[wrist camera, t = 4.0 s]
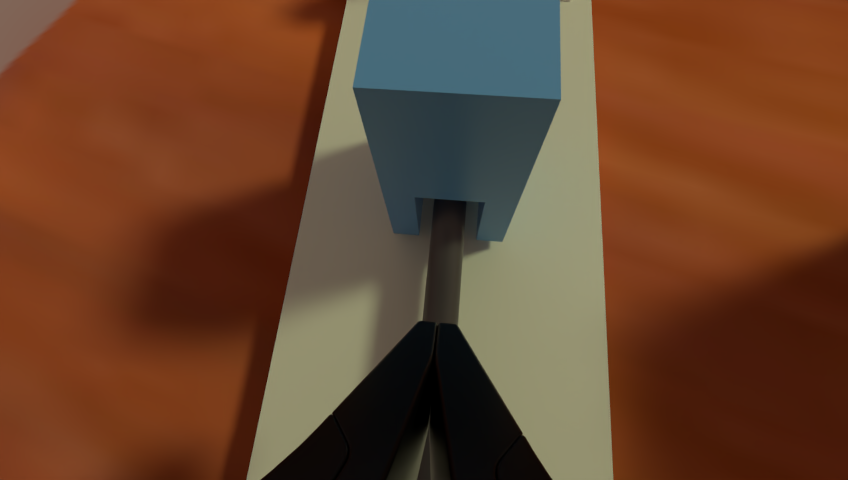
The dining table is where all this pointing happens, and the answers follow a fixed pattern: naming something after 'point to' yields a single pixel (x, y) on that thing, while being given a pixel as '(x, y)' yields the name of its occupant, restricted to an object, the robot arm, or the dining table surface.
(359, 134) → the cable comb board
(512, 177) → the blue block
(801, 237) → the dining table surface
